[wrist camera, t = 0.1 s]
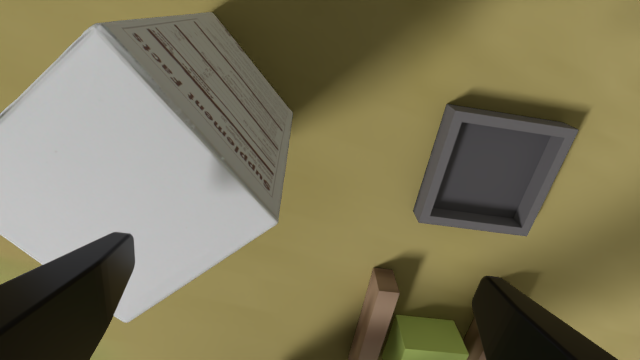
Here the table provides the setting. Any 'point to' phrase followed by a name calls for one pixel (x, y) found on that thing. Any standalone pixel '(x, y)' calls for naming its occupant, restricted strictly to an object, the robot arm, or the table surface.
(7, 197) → the supplement box
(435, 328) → the lime block
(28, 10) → the table surface
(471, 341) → the lane rails
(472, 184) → the trap pit
